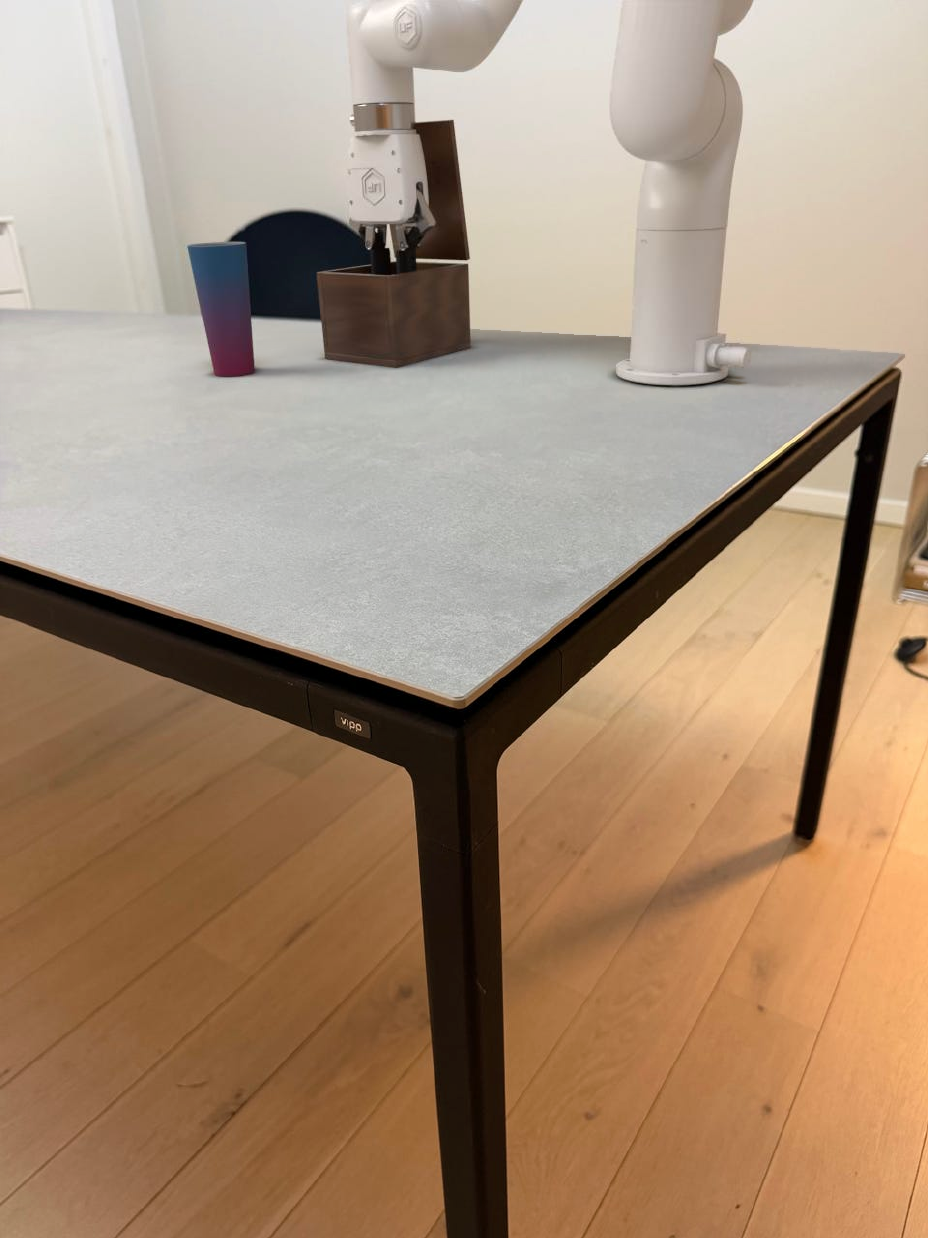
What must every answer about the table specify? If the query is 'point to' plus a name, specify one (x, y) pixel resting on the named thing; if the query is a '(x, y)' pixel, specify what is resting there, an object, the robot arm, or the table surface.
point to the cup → (225, 304)
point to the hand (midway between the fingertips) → (394, 280)
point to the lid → (441, 195)
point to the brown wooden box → (394, 313)
